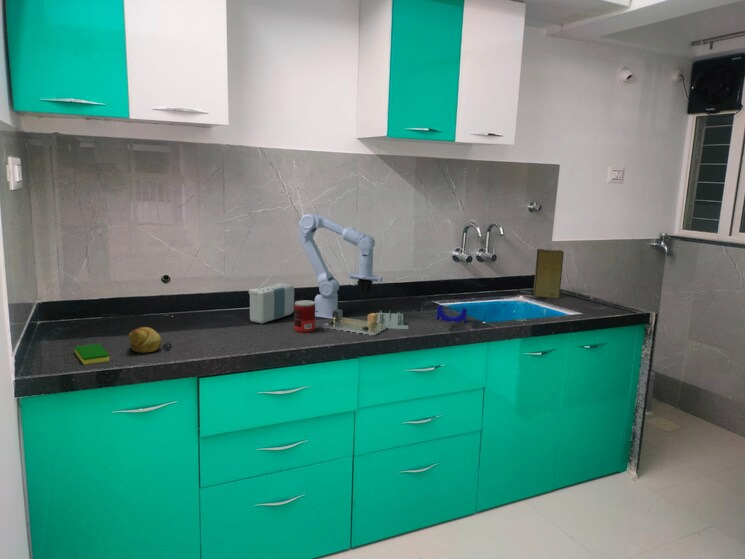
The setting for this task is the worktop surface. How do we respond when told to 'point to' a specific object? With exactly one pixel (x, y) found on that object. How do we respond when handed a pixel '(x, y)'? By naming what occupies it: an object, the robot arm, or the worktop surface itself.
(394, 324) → the metal bracket
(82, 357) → the dish sponge
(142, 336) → the bread roll
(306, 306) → the canned food
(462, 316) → the cable clip
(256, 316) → the stereo radio cassette player
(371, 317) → the block
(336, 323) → the plate
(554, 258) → the food packaging
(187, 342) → the worktop surface
